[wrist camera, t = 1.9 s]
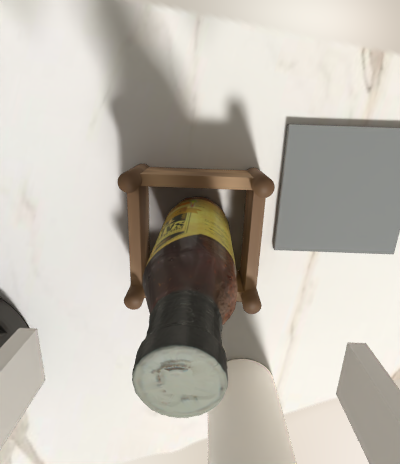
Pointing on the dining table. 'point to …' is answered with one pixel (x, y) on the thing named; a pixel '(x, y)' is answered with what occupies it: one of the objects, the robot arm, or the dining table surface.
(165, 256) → the sauce bottle
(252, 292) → the corner post wooden tray
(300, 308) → the dining table surface
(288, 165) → the mat
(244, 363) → the bottle
